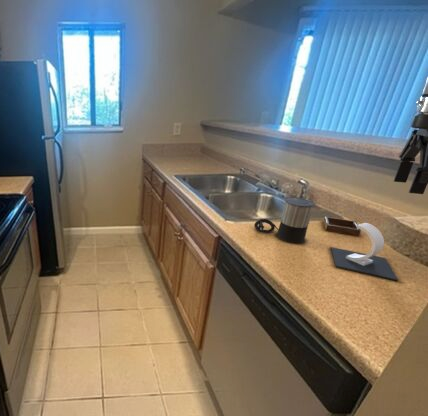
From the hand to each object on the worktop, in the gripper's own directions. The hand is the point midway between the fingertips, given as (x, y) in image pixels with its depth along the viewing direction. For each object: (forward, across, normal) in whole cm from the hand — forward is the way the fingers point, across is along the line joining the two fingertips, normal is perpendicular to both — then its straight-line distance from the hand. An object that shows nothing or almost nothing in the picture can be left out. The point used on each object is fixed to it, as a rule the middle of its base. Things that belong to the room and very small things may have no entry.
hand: (407, 187), depth 83 cm
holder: (+24, -20, -8) cm, 32 cm away
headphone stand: (+24, +8, -7) cm, 26 cm away
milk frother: (+24, -2, -30) cm, 38 cm away
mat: (+24, +9, -7) cm, 26 cm away
